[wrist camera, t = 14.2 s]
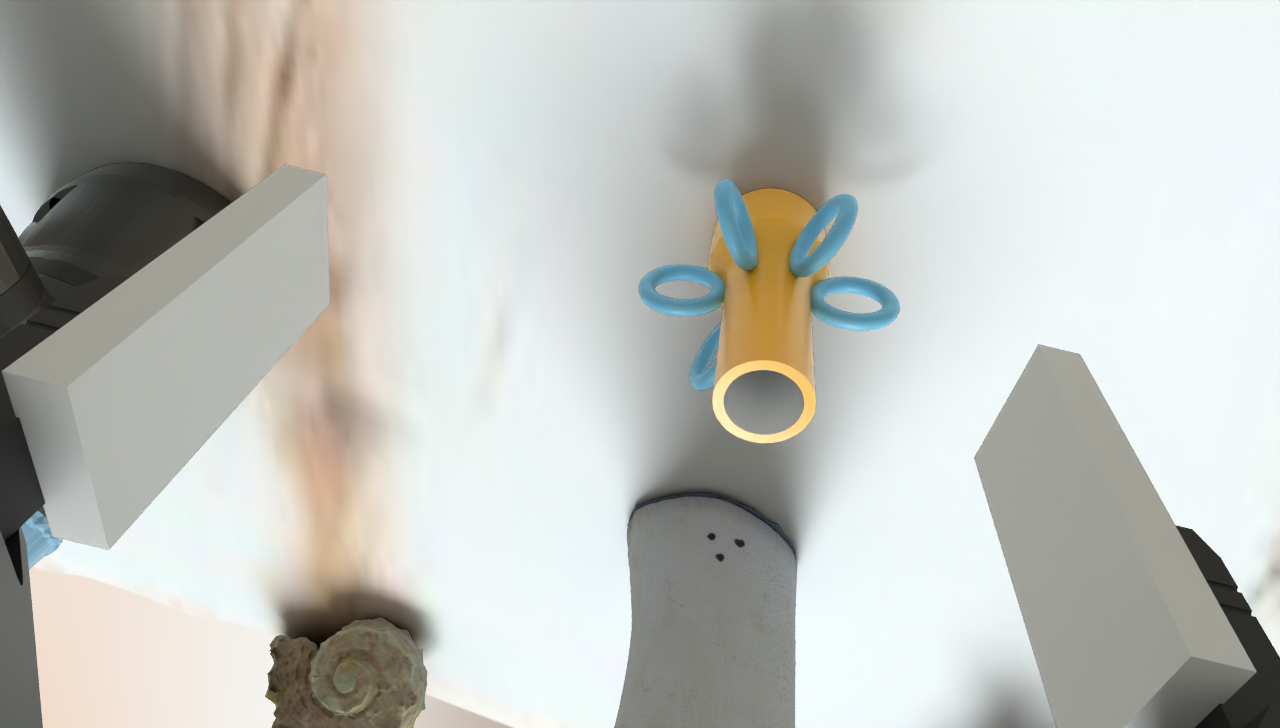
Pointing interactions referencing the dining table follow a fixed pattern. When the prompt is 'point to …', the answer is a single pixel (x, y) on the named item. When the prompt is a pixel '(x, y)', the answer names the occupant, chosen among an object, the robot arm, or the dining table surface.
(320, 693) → the seashell
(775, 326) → the vase
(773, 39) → the dining table surface
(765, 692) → the vase
